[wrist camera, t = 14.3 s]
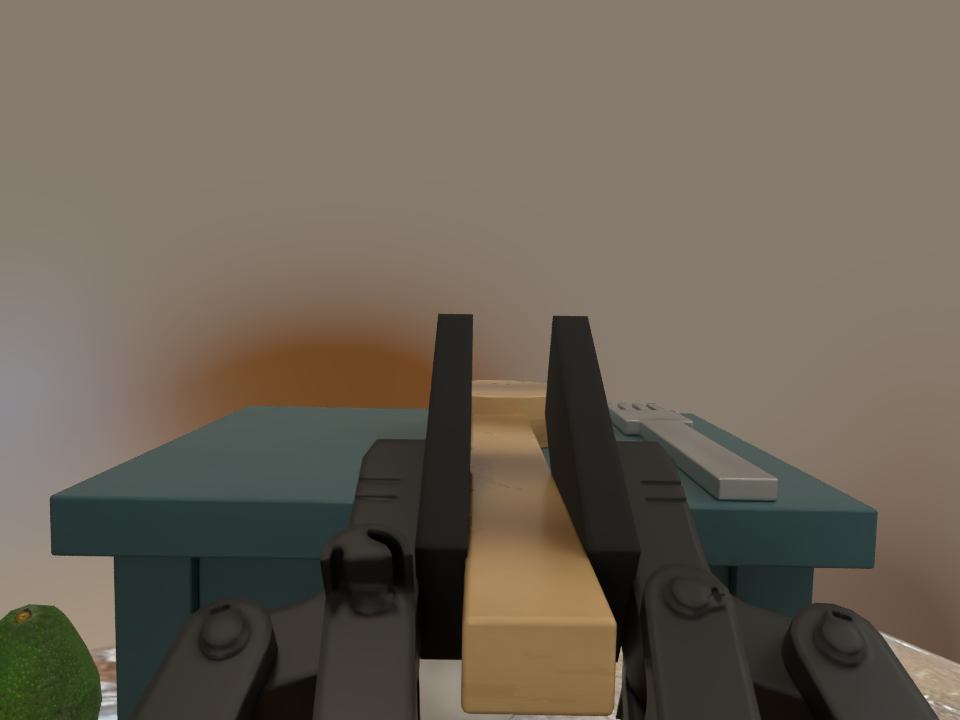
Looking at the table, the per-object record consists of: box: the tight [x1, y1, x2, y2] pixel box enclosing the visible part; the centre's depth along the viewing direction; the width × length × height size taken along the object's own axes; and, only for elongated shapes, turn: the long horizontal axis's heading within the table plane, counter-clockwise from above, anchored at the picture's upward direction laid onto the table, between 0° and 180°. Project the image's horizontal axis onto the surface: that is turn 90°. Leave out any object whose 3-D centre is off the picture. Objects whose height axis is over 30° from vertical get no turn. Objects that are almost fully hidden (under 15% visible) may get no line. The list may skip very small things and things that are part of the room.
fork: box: [607, 403, 778, 502], centre depth 25 cm, size 14×2×1 cm, turn 0°
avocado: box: [0, 604, 102, 720], centre depth 51 cm, size 8×8×12 cm
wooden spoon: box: [430, 380, 617, 716], centre depth 18 cm, size 20×5×2 cm, turn 0°
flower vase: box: [419, 659, 514, 720], centre depth 56 cm, size 13×18×25 cm
